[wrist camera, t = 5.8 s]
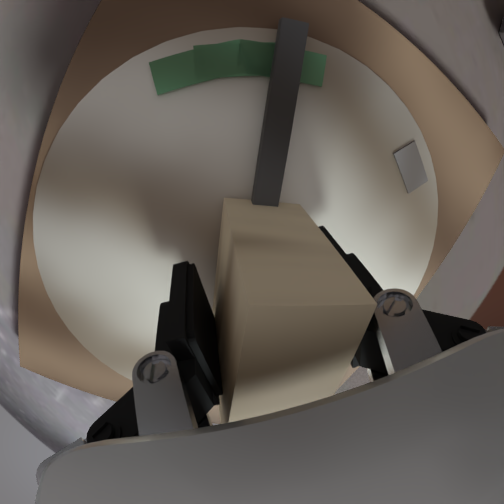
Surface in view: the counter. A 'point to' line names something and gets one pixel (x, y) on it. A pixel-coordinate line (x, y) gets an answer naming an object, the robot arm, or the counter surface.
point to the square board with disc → (229, 166)
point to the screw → (502, 31)
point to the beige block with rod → (281, 276)
